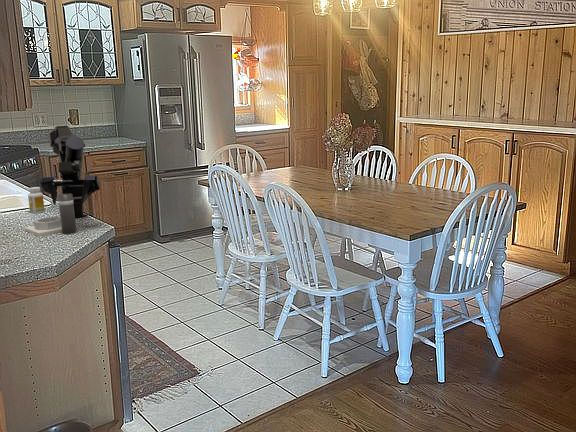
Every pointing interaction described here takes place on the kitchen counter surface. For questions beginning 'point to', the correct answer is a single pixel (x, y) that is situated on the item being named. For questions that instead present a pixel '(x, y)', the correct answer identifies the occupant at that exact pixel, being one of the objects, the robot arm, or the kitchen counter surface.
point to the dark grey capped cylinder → (67, 213)
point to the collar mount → (45, 226)
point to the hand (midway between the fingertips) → (68, 203)
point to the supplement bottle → (36, 200)
